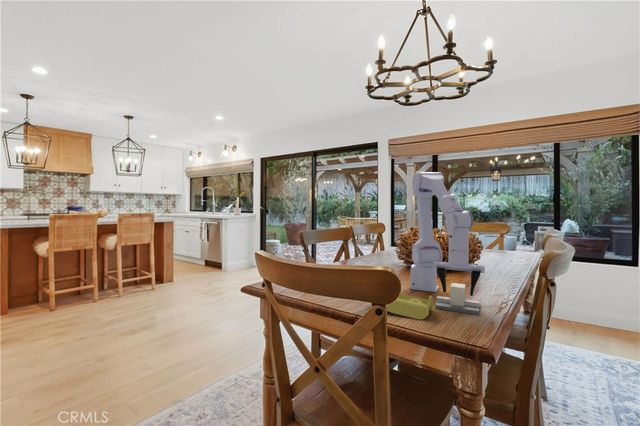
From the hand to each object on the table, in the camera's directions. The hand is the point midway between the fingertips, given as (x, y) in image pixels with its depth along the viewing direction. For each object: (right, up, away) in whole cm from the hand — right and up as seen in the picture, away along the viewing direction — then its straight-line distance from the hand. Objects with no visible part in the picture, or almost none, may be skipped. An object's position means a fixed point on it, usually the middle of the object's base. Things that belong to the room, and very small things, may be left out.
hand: (457, 293), depth 97 cm
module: (0, -3, 0) cm, 3 cm away
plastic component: (-19, -5, -2) cm, 20 cm away
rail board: (0, -4, 0) cm, 4 cm away
